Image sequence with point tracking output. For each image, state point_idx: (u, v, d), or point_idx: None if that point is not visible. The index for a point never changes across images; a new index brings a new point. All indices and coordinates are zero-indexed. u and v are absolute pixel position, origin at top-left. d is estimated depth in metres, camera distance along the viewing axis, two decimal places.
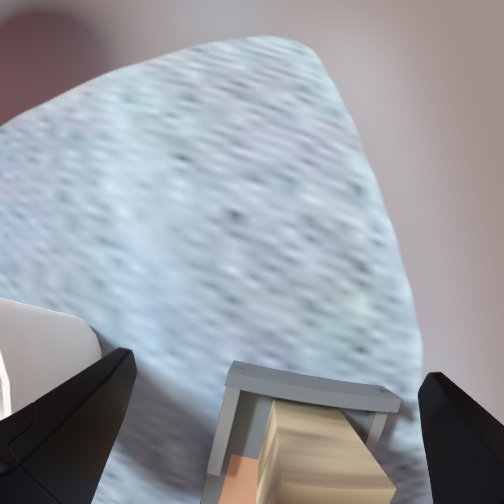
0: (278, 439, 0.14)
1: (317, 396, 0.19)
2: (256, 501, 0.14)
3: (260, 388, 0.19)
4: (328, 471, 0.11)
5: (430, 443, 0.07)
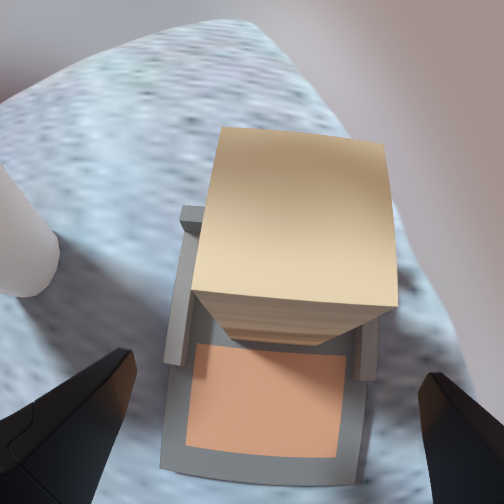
0: None
1: None
2: (217, 320, 0.12)
3: None
4: None
5: (430, 443, 0.07)
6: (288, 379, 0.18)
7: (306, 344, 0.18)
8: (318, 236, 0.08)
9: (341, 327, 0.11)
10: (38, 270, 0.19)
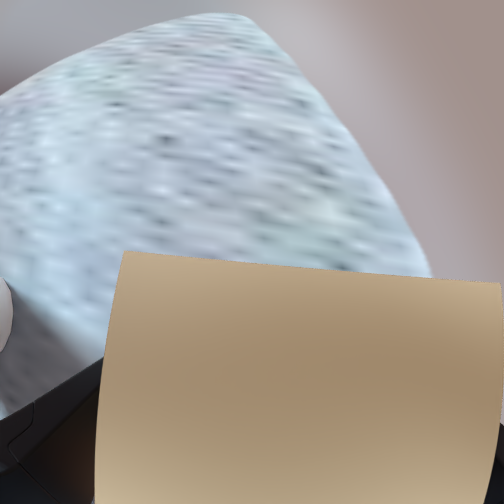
0: None
1: None
2: None
3: None
4: None
5: None
6: None
7: None
8: None
9: None
10: None
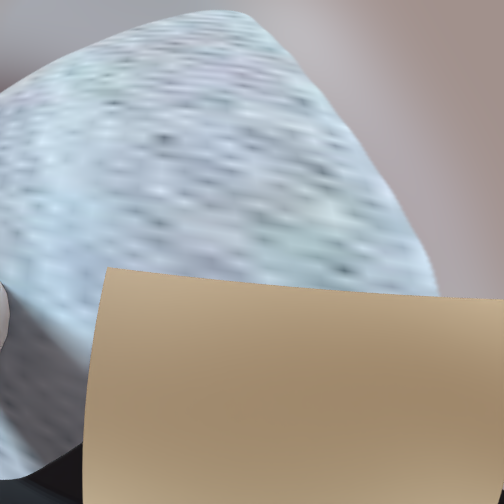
0: None
1: None
2: None
3: None
4: None
5: None
6: None
7: None
8: None
9: None
10: None
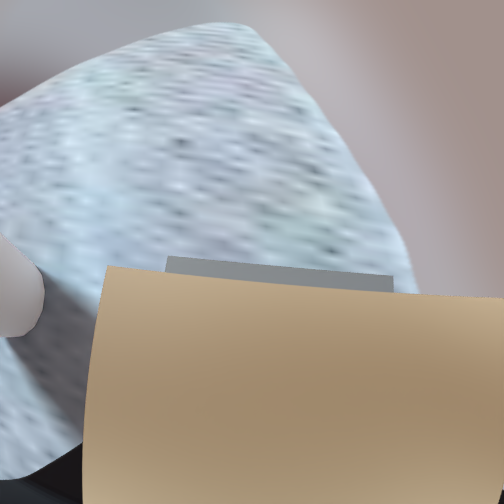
0: None
1: (280, 275, 0.16)
2: None
3: (207, 271, 0.16)
4: None
5: None
6: None
7: None
8: None
9: None
10: (22, 314, 0.17)
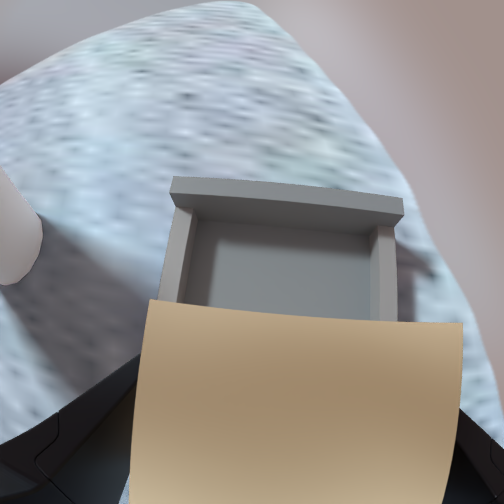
0: None
1: (288, 191, 0.16)
2: None
3: (213, 188, 0.16)
4: None
5: None
6: None
7: None
8: None
9: None
10: (17, 253, 0.17)
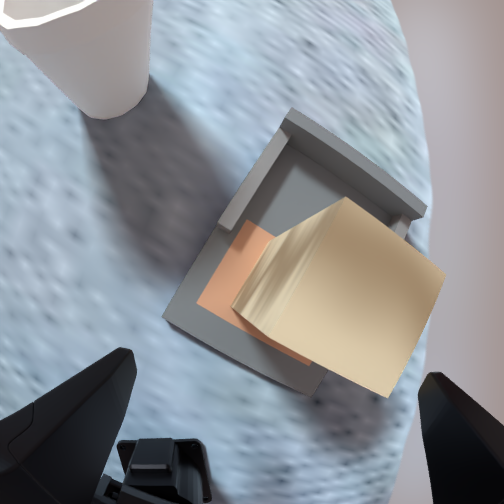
0: (303, 222, 0.14)
1: (362, 161, 0.20)
2: (244, 316, 0.14)
3: (316, 131, 0.20)
4: None
5: (430, 443, 0.07)
6: None
7: None
8: (368, 333, 0.10)
9: None
10: (125, 98, 0.20)
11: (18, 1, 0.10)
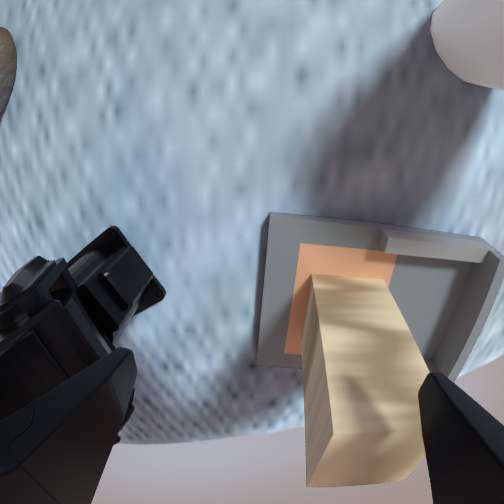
0: (419, 353, 0.13)
1: (475, 334, 0.18)
2: (323, 342, 0.14)
3: (492, 290, 0.17)
4: None
5: (430, 443, 0.07)
6: None
7: (302, 335, 0.21)
8: (353, 468, 0.11)
9: (306, 422, 0.15)
10: (472, 76, 0.13)
11: None
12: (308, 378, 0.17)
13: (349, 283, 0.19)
